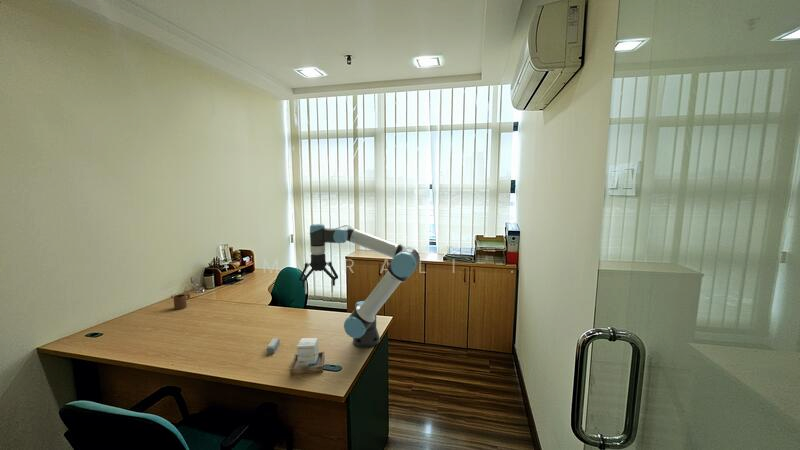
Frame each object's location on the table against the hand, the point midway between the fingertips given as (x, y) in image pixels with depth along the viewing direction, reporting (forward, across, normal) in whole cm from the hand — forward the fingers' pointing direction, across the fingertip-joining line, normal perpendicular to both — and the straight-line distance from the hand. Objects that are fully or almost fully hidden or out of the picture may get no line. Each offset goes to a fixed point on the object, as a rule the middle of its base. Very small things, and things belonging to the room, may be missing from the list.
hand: (319, 292), depth 167 cm
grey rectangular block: (+32, +26, -5) cm, 41 cm away
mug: (+32, +106, -84) cm, 139 cm away
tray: (+32, +5, +16) cm, 36 cm away
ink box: (+31, +5, +16) cm, 35 cm away
